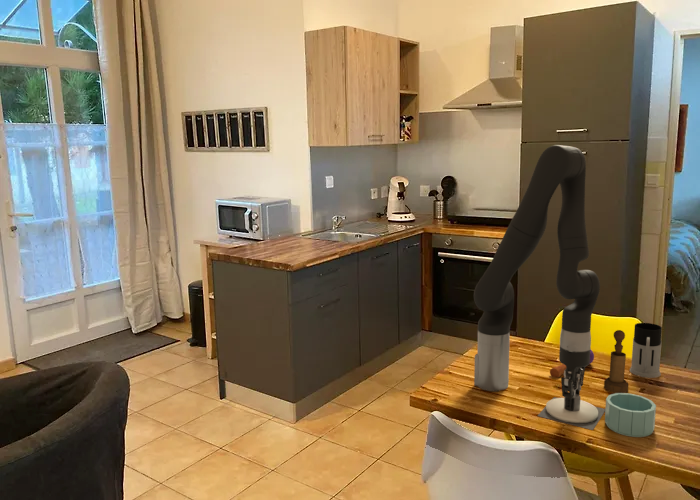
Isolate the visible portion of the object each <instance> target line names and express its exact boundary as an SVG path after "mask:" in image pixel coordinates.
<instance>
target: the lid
mask: <svg viewBox="0 0 700 500" xmlns="http://www.w3.org/2000/svg"><path fill="white" fill-rule="evenodd" d="M545 407H546V411H547V412H548V413H549V414H550V415H551V416H553V417H554V418H557V419H559V420H562V421H566V422H571V423H588V422H592V421H594V420H596V419H597V418H598V410H597V408H596V407H597V406H595V405H593V404H592V403H590V402H588V401H585V400H583V399H581V395H578V394H575V403H574V410H573V411H570V410H566V409H565V397H564V396H563V397H556V399H553V398H552V399H550V400H548V401H547V402H546V403H545Z"/></svg>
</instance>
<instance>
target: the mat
mask: <svg viewBox="0 0 700 500" xmlns="http://www.w3.org/2000/svg"><path fill="white" fill-rule="evenodd" d="M556 398H557V397H555V396H554V397H553V398H552V399H556ZM595 407H596V408H597V410H598V418H597V419H596V420H594V421H592V422H588V423H571V422H566V421H562V420H559V419H557V418H554V417H553V416H551V415H550V414H549V413H548V412H547V411H546V406H544V407H543V409H542V410H541V411H540V412H539V413H538V415H537V417H539V418H544V419H547V420H551V421H554V422H555V421H556V422H560V423H563V424H567V425H570V426H575V427H579V428H583V429H586V430H591V431H594V430H595V428H596V426H597V425H598V423H599V422H600V420H601V419H602V418H603V417H602V416H604V415H605V409H606V408H603V407H599V406H595Z"/></svg>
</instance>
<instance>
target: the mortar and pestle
mask: <svg viewBox="0 0 700 500" xmlns="http://www.w3.org/2000/svg"><path fill="white" fill-rule="evenodd" d="M613 338H614V340H615V344H614V350H613V351H611V352H610V363H609V375H608V376H609V377H607V378H605V379H604V382H603V388H604V389H605V390H606V391H608V392H611V393H614V394H615V393H628V392H629V386H630V384H629V383H628V381H626V379H625V373H626V372H625V370H626V359H627V358H626V357H627V355H626V353H625V352H623V349H624V345H622V344H623V341H624V340H625V338H626V335H625V332H624V330H621V329H617V330H615V331H614V332H613Z"/></svg>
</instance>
